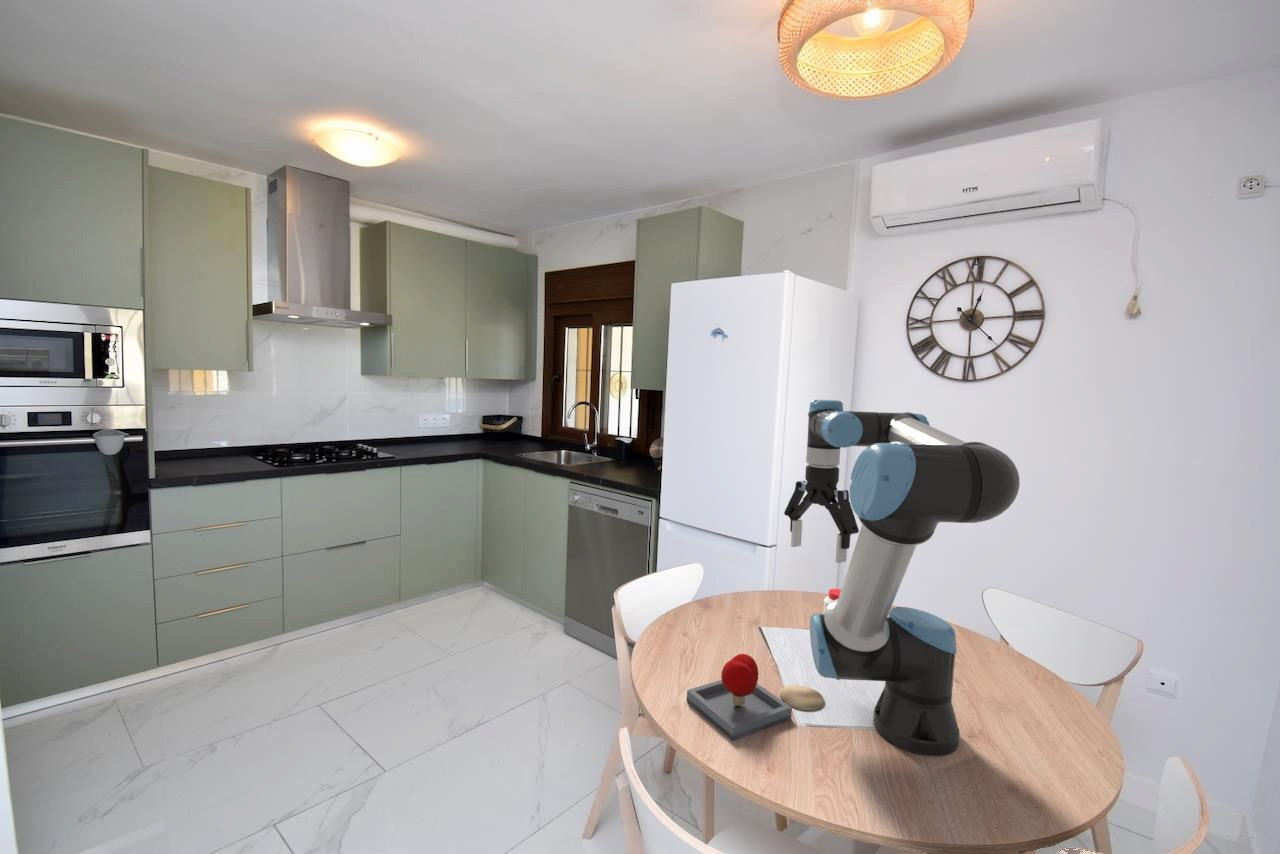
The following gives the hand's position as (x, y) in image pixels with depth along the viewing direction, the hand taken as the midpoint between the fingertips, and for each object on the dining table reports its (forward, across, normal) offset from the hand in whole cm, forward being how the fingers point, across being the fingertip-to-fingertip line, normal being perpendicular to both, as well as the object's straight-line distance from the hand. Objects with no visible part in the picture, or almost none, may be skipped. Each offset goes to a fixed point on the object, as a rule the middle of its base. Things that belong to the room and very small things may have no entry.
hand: (817, 553), depth 138 cm
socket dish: (+27, -7, +30) cm, 40 cm away
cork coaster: (+27, -10, +15) cm, 32 cm away
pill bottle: (+27, +8, -20) cm, 35 cm away
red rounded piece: (+26, -7, +30) cm, 40 cm away
